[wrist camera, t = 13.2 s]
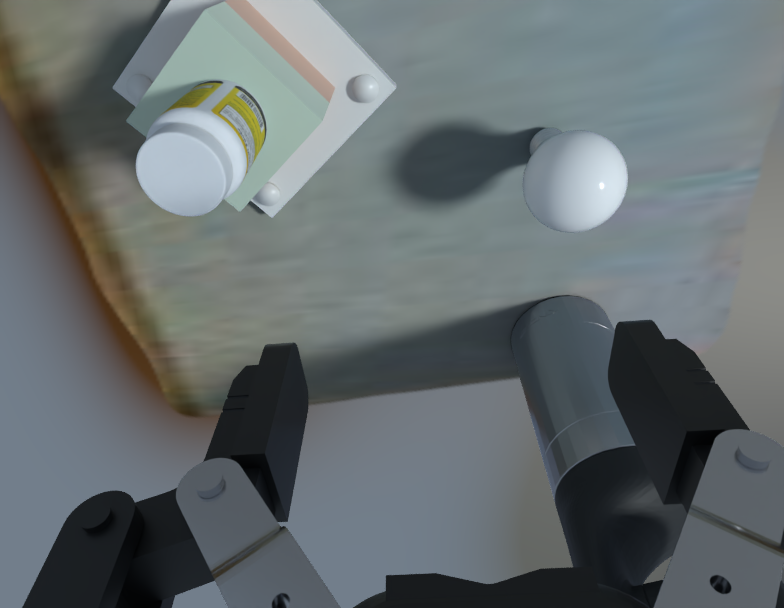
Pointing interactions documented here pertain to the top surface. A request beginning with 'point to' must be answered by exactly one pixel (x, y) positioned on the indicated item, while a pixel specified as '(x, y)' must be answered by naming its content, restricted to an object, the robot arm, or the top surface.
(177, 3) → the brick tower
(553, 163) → the lightbulb
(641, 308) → the top surface
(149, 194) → the supplement bottle
